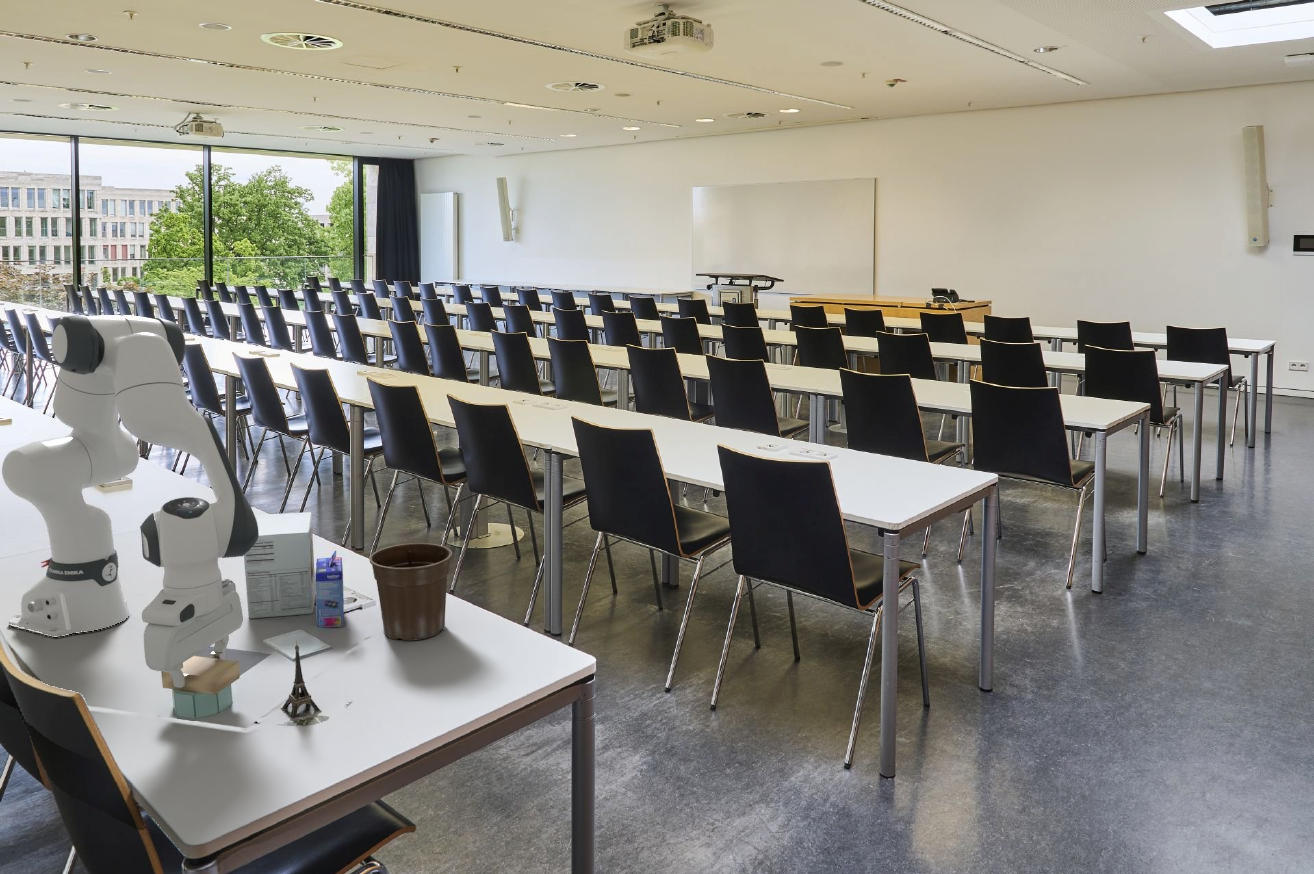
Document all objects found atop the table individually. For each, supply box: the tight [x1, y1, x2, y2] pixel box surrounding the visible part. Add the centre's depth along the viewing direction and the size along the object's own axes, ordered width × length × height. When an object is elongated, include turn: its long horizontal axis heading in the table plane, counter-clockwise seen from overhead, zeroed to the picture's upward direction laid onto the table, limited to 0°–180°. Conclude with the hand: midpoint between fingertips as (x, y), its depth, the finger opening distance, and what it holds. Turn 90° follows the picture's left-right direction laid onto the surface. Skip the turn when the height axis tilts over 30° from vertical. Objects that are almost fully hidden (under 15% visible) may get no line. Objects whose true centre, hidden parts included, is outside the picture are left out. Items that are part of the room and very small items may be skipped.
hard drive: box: [262, 629, 334, 662], centre depth 193 cm, size 2×8×12 cm
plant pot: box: [368, 542, 453, 641], centre depth 201 cm, size 16×16×16 cm
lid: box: [160, 656, 241, 695], centre depth 167 cm, size 10×6×3 cm, turn 77°
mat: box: [195, 645, 272, 676], centre depth 184 cm, size 14×12×1 cm
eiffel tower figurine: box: [253, 640, 352, 727], centre depth 166 cm, size 15×10×13 cm
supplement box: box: [243, 511, 316, 620], centre depth 214 cm, size 17×13×18 cm
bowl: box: [171, 684, 233, 722], centre depth 168 cm, size 9×9×4 cm
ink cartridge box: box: [315, 550, 345, 629], centre depth 205 cm, size 10×6×14 cm, turn 18°
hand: (200, 673), depth 167 cm, fingers open, 8 cm apart
